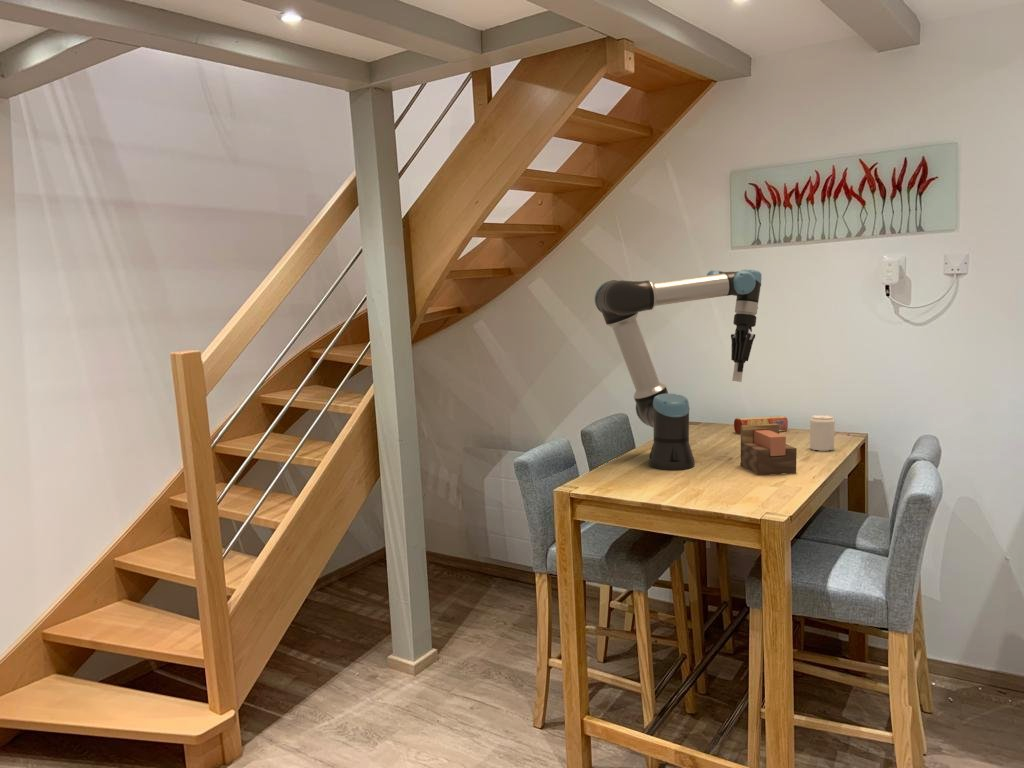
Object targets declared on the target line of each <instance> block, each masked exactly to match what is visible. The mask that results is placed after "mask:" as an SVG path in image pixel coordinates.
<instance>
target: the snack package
mask: <svg viewBox="0 0 1024 768" xmlns="http://www.w3.org/2000/svg"><path fill="white" fill-rule="evenodd" d="M762 424H779V430H788V425H789V421H788V418H787V417H786V416H784V415H768V416H767V415H765V416H753V417H751V416H750V417H736V418H735V419H734V421H733V428H734V432H735V433H736V434H737V433H738V435H740V434H741V426H744V425H762Z"/></svg>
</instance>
